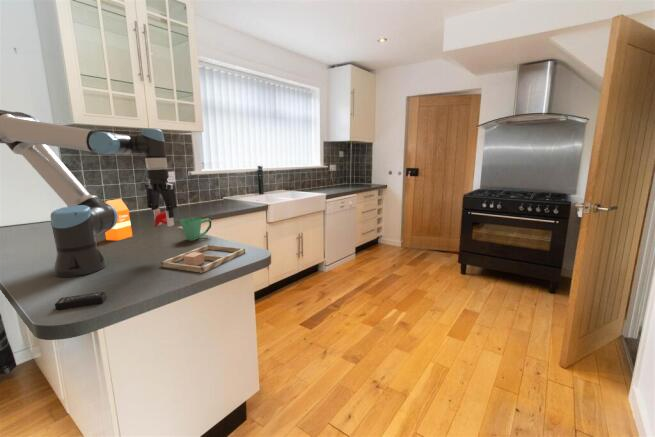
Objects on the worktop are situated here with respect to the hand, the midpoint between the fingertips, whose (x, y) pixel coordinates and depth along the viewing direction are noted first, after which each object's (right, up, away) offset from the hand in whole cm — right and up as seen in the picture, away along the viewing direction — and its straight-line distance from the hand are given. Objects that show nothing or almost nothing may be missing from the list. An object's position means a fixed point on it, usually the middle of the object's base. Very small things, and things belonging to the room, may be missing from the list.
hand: (164, 225), depth 131 cm
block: (+16, -15, -9) cm, 24 cm away
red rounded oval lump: (0, -1, 0) cm, 1 cm away
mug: (+2, -8, +29) cm, 30 cm away
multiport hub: (-2, -22, -41) cm, 47 cm away
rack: (+19, -14, -4) cm, 23 cm away
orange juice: (-41, -8, +33) cm, 53 cm away
